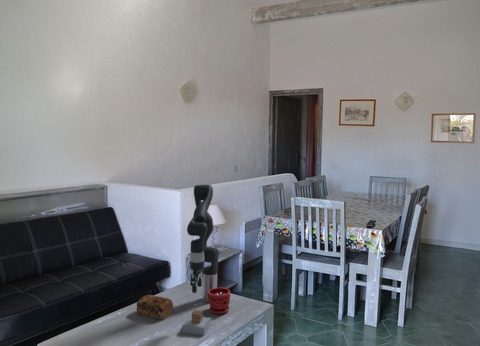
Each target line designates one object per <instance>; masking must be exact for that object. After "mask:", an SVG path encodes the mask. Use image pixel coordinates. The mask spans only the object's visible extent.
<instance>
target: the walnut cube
mask: <svg viewBox="0 0 480 346" xmlns="http://www.w3.org/2000/svg"><path fill="white" fill-rule="evenodd" d="M203 313H204V312H203V310H198V309H194V310H193V311H192V312H191V316H192V323H199V324H200V323H201V321H202V317H203Z"/></svg>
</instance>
